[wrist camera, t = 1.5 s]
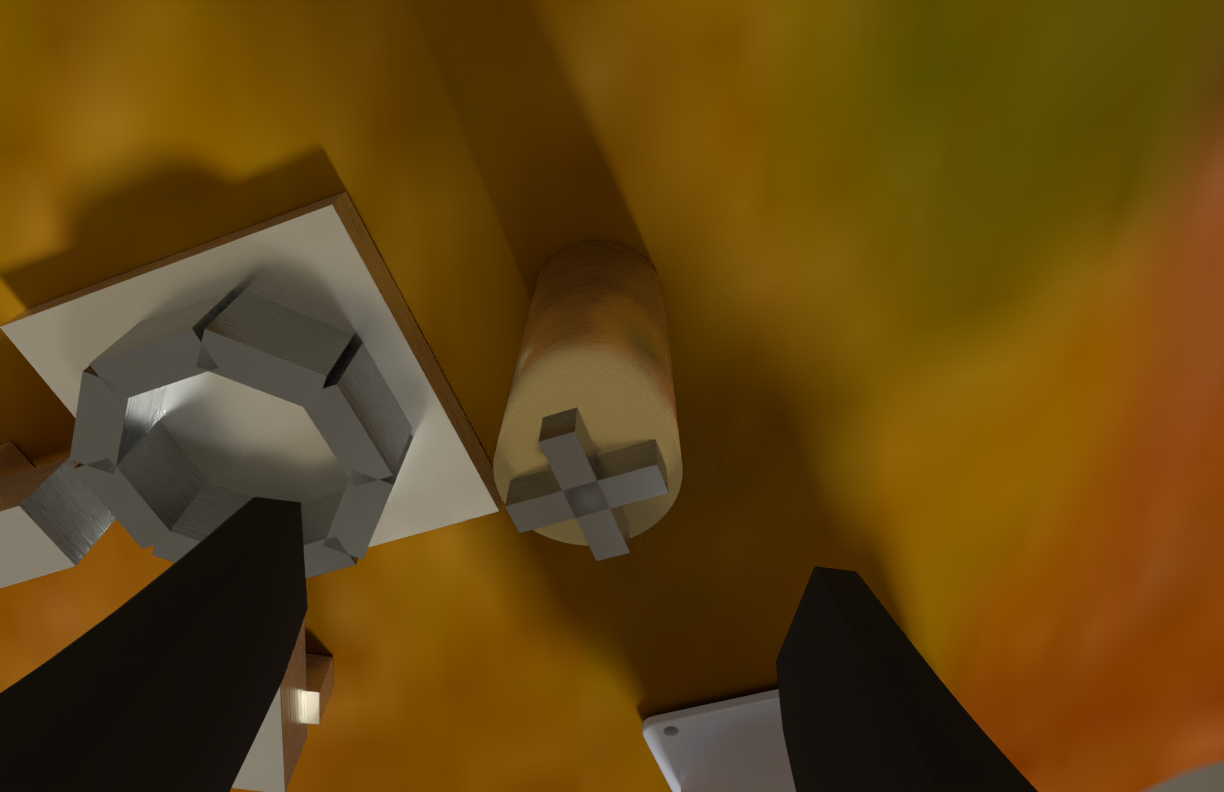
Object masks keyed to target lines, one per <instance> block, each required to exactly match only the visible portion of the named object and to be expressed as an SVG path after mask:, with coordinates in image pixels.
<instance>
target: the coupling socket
mask: <svg viewBox="0 0 1224 792" xmlns="http://www.w3.org/2000/svg"><path fill="white" fill-rule="evenodd" d="M0 328H1V329H2V330H3V331H4V333H5V334H6V335H7V336H8V337H9V339H10V340H11V341H12V342H13V344H14V345H15V346H16V347H17V348H18V350H19V351H20V352H21V353H22V354H23V356H24V357H25V358H26V359H27V360H28V362H29V363H30V364H31V365H32V366H33V368H34V369H35V370H36V371H37V372H38V374H39V375H40V376H41V377H42V378H43V380H44V381H45V382H46V383H47V384H48V386H49V387H50V388H51V389H52V390H53V392H54V393H55V394H56V395H57V396H58V398H59V399H60V400H61V401H62V402H63V404H64V405H65V406H66V407H67V408H68V410H69V411H70V412H71V413H72V414H73V416H74V417H75V418H76V419H75V426H74V433H73V439H72V446H71V453H70V456H69V457H66V458H63V459H60V460H57V461H54V462H51V463H48V464H45V465H42V466H38V467H34V466H33V465H32V464H31V463H30V462H29V461H28V460H27V459H26V457H25V456H24V455H23V454H22V453H21V452H20V451H19V450H18V449H17V447H16V446H15V445H14V444H13V443H12V442H8V443H5V444H2V445H0V588H2V587H6V586H9V585H12V584H16V583H19V582H23V581H26V580H29V579H33V578H36V577H40V576H43V575H47V574H50V573H53V572H57V571H60V570H64V569H67V568H70V567H74V566H76V565H77V564H78V563H79V561H80V560H81V559H82V558H83V557H84V555H85V554H86V553H87V552H88V551H89V550H90V548H91V547H92V546H93V545H94V544H95V543H96V541H97V540H98V539H99V538H100V537H101V535H102V534H103V533H104V532H105V531H106V530H107V528H108V527H109V526H110V525H111V524H112V523H113V521H114V520H115V519H117V520H118V521H119V522H120V524H121V525H122V526H123V527H124V528H125V529H126V531H127V532H128V533H129V534H130V535H131V536H132V537H133V539H134V540H135V541H136V542H137V543H138V544H139V546H140V547H141V548H142V549H143V548H147V547H150V546H154V550H153V554H152V555H154V556H157V557H160V558H163V559H166V560H169V561H172V562H175V563H176V562H177V561H178V560H179V559H180V558H182V557H183V556H184V555H185V554H186V553H188V552H189V551H190V550H191V549H192V548H194V547H195V546H196V545H197V544H198V543H200V542H201V541H202V540H203V539H204V538H205V537H207V536H208V535H209V534H210V533H211V532H213V531H214V530H215V529H216V528H217V527H218V526H220V525H221V524H222V523H223V522H224V521H225V520H227V519H228V518H229V517H230V516H231V515H232V514H234V513H235V512H236V511H237V510H238V509H240V508H241V507H242V506H243V505H244V504H245V503H247V502H248V501H249V500H251V499H252V498H254V497H262V498H270V499H278V500H286V501H294V502H301V513H302V529H303V545H304V561H305V576H306V578H309V577H313V576H317V575H320V574H324V573H328V572H331V571H335V570H339V569H342V568H346V567H350V566H353V565H356V563H357V561H358V558H360V559H363V557H364V555H365V553H366V550H367V548H368V547H371V546H374V545H378V544H382V543H385V542H389V541H393V540H396V539H400V538H404V537H407V536H411V535H414V534H418V533H422V532H425V531H429V530H433V529H436V528H440V527H443V526H447V525H451V524H454V523H458V522H462V521H465V520H469V519H472V518H476V517H480V516H483V515H487V514H491V513H494V512H498V511H499V509H500V504H501V500H502V499H501V497H500V494H499V492H498V490H497V487H496V483H495V480H494V471H493V467H492V465H491V463H490V462H489V460H488V458H487V456H486V454H485V452H484V450H483V448H482V446H481V445H480V443H479V441H478V439H477V437H476V435H475V433H474V431H473V429H472V428H471V426H470V424H469V422H468V420H467V418H466V416H465V414H464V412H463V411H462V409H461V407H460V405H459V403H458V401H457V399H456V397H455V396H454V394H453V392H452V390H451V388H450V386H449V384H448V382H447V380H446V379H445V377H444V375H443V373H442V371H441V369H440V367H439V365H438V363H437V362H436V360H435V358H434V356H433V354H432V352H431V350H430V348H429V347H428V345H427V343H426V341H425V339H424V337H423V335H422V333H421V331H420V330H419V328H418V326H417V324H416V322H415V320H414V318H413V316H412V314H411V313H410V311H409V309H408V307H407V305H406V303H405V301H404V299H403V297H402V296H401V294H400V292H399V290H398V288H397V286H396V284H395V282H394V281H393V279H392V277H391V275H390V273H389V271H388V269H387V267H386V265H385V264H384V262H383V260H382V258H381V256H380V254H379V252H378V250H377V248H376V247H375V245H374V243H373V241H372V239H371V237H370V235H369V233H368V232H367V230H366V228H365V226H364V224H363V222H362V220H361V218H360V216H359V215H358V213H357V211H356V209H355V207H354V205H353V203H352V201H351V199H350V198H349V196H348V194H347V192H346V191H345V192H342V193H339V194H337V195H334V196H331V197H329V198H326V199H323V200H321V201H318V202H315V203H312V204H310V205H307V206H304V207H302V208H299V209H296V210H294V211H291V212H288V213H286V214H283V215H280V216H277V217H275V218H272V219H269V220H267V221H264V222H261V223H259V224H256V225H253V226H250V227H248V228H245V229H242V230H240V231H237V232H234V233H232V234H229V235H226V236H223V237H221V238H218V239H215V240H213V241H210V242H207V243H205V244H202V245H199V246H196V247H194V248H191V249H188V250H186V251H183V252H180V253H178V254H175V255H172V256H169V257H167V258H164V259H161V260H159V261H156V262H153V263H151V264H148V265H145V266H143V267H140V268H137V269H134V270H132V271H129V272H126V273H124V274H121V275H118V276H116V277H113V278H110V279H107V280H105V281H102V282H99V283H97V284H94V285H91V286H89V287H86V288H83V289H80V290H78V291H75V292H72V293H70V294H67V295H64V296H62V297H59V298H56V299H53V300H51V301H48V302H45V303H43V304H40V305H37V306H35V307H32V308H29V309H27V310H25V311H24V312H22V313H21V314H19V315H18V316H16V317H14V318H13V319H11V320H10V321H8V322H7V323H5V324H4V325H2V326H1V327H0ZM75 461H76V462H79V464H77V463H76V462H75ZM332 690H333V657H329V656H322V655H314V654H307V653H305V617H304V620H303V623H302V626H301V629H300V632H299V635H298V638H297V641H296V644H295V647H294V650H293V653H292V656H291V659H290V661H289V664H288V667H287V670H286V673H285V676H284V678H283V680H282V683H281V685H280V687H279V689H278V691H277V693H276V696H275V698H274V700H273V702H272V704H271V706H270V708H269V710H268V713H267V715H266V717H265V719H264V721H263V723H262V725H261V727H260V729H259V732H258V734H257V736H256V738H255V740H254V742H253V744H252V746H251V748H250V750H249V752H248V754H247V757H246V759H245V761H244V763H243V765H242V767H241V769H240V771H239V773H238V775H237V777H236V779H235V781H234V784H233V786H232V788H239V789H247V790H256V791H264V792H286V790H287V787H288V785H289V782H290V780H291V777H292V774H293V772H294V769H295V767H296V764H297V762H298V759H299V756H300V754H301V751H302V749H303V746H304V744H305V741H306V738H307V723H311V724H320V722H321V719H322V716H323V714H324V711H325V709H326V706H327V703H328V701H329V698H330V695H331V693H332Z"/></svg>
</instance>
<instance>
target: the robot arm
mask: <svg viewBox="0 0 1224 792" xmlns="http://www.w3.org/2000/svg"><path fill="white" fill-rule="evenodd" d="M306 611H307V592H306V576H305V561H304V545H303V529H302V513H301V502H294V501H286V500H278V499H270V498H262V497H254V498H252V499H251V500H249V501H248V502H247V503H245V504H244V505H243V506H242V507H241V508H240V509H238V510H237V511H236V512H235V513H234V514H232V515H231V516H230V517H229V518H228V519H227V520H225V521H224V522H223V523H222V524H221V525H220V526H218V527H217V528H216V529H215V530H214V531H213V532H211V533H210V534H209V535H208V536H207V537H205V538H204V539H203V540H202V541H201V542H200V543H198V544H197V545H196V546H195V547H194V548H192V549H191V550H190V551H189V552H188V553H186V554H185V555H184V556H183V557H182V558H180V559H179V560H178V561H177V562H176V563H175V564H173V565H172V566H171V567H170V568H168V569H167V570H166V571H165V572H163V573H162V574H161V575H160V576H158V577H157V578H156V579H155V580H153V581H152V582H151V583H150V584H148V585H147V586H146V587H145V588H143V589H142V590H141V591H140V592H138V593H137V594H136V595H135V596H133V597H132V598H131V599H130V600H128V601H127V602H126V603H125V604H123V605H122V606H121V607H120V608H118V609H117V610H116V611H114V612H113V613H112V614H111V615H109V616H108V617H107V618H105V619H104V620H103V621H101V622H100V623H98V624H97V625H96V626H94V627H93V628H92V629H90V630H89V631H88V632H86V633H85V634H83V635H82V636H81V637H79V638H78V639H77V640H75V641H74V642H73V643H71V644H70V645H68V646H67V647H66V648H64V649H63V650H62V651H60V652H59V653H58V654H56V655H55V656H54V657H52V658H51V659H49V660H48V661H47V662H45V663H44V664H42V665H41V666H39V667H38V668H37V669H35V670H34V671H32V672H31V673H29V674H28V675H26V676H25V677H23V678H22V679H21V680H19V681H18V682H16V683H15V684H13V685H12V686H10V687H9V688H7V689H6V690H4V691H3V692H1V693H0V792H230V790H231V788H232V786H233V784H234V781H235V779H236V777H237V775H238V773H239V771H240V769H241V767H242V765H243V763H244V761H245V759H246V757H247V754H248V752H249V750H250V748H251V746H252V744H253V742H254V740H255V738H256V736H257V734H258V732H259V729H260V727H261V725H262V723H263V721H264V719H265V717H266V715H267V713H268V710H269V708H270V706H271V704H272V702H273V700H274V698H275V696H276V693H277V691H278V689H279V687H280V685H281V683H282V680H283V678H284V676H285V673H286V670H287V667H288V664H289V661H290V659H291V656H292V653H293V650H294V647H295V644H296V641H297V638H298V635H299V632H300V629H301V626H302V623H303V620H304V617H305V614H306ZM776 667H777V678H778V689H776V690H771V691H767V692H762V693H757V694H753V695H748V696H743V697H739V698H734V699H730V700H725V701H720V702H716V703H711V704H706V705H702V706H697V707H692V708H688V709H683V710H678V711H674V712H669V713H665V714H660V715H655V716H651V717H649V718H647V719H646V720H645V721H644V722H643V724H642V733H643V737H644V739H645V741H646V742H647V744H648V746H649V748H650V750H651V752H652V754H653V756H654V758H655V760H656V762H657V764H658V765H659V767H660V769H661V771H662V773H663V775H664V777H665V779H666V781H667V783H668V785H669V786H670V788H671V790H672V792H1038V791H1037V790H1036V789H1035V788H1034V787H1033V786H1032V785H1031V784H1030V783H1029V782H1028V781H1027V779H1026V778H1025V777H1024V776H1023V775H1022V774H1021V773H1020V772H1019V771H1018V770H1017V769H1016V767H1015V766H1014V765H1013V764H1012V763H1011V762H1010V761H1009V760H1008V758H1007V757H1006V756H1005V755H1004V754H1003V753H1002V752H1001V751H1000V749H999V748H998V747H997V746H996V745H995V744H994V743H993V742H992V741H991V739H990V738H989V737H988V736H987V735H986V734H985V733H984V732H983V730H982V729H981V728H980V727H979V726H978V725H977V723H976V722H975V721H974V720H973V719H972V717H971V716H970V715H969V714H968V713H967V712H966V710H965V709H964V708H963V707H962V706H961V704H960V703H959V702H958V701H957V700H956V698H955V697H954V696H953V695H952V694H951V692H950V691H949V690H948V689H947V687H946V686H945V685H944V684H943V682H942V681H941V680H940V679H939V677H938V676H937V675H936V674H935V673H934V671H933V670H932V669H931V667H930V666H929V665H928V664H927V662H926V661H925V660H924V659H923V657H922V656H921V655H920V654H919V652H918V651H917V650H916V648H915V647H914V646H913V645H912V643H911V642H910V641H909V639H908V638H907V637H906V635H905V634H904V633H903V632H902V630H901V629H900V628H899V626H898V625H897V624H896V623H895V621H894V620H893V619H892V617H891V616H890V615H889V613H888V612H887V611H886V609H885V608H884V607H883V606H882V604H881V603H880V602H879V600H878V599H877V598H876V596H875V595H874V594H873V592H872V591H871V590H870V589H869V587H868V586H867V585H866V583H865V582H864V581H863V580H862V578H861V577H860V576H859V575H858V573H857V572H855V571H847V570H839V569H831V568H823V567H814V569H813V572H812V574H811V577H810V579H809V582H808V584H807V587H806V589H805V592H804V594H803V596H802V599H801V601H800V604H799V606H798V609H797V611H796V614H795V616H794V619H793V621H792V623H791V626H790V628H789V631H788V633H787V636H786V638H785V641H784V643H783V646H782V648H781V650H780V653H779V655H778V658H777V660H776Z"/></svg>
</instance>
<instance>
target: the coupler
mask: <svg viewBox="0 0 1224 792" xmlns="http://www.w3.org/2000/svg"><path fill="white" fill-rule="evenodd" d="M493 471H494V480H495V483H496V487H497V490H498V492H499V494H500V497H501V499H502V500H503V502H504V503H505V508H506V509H507V511H508V513H509V515H510V517H511V519H512V521H513V522H514V524H515V526H516V528H517V530H518V532H519V533H522V532H526V531H529V530H534V531H535V532H537V533H539V534H541V535H543V536H546V537H548V538H550V539H554V540H557V541H560V542H564V543H569V544H575V545H589V547H590V549H591V551H592V553H593V555H594V558H595V560H596V561H600V560H603V559H607V558H611V557H615V556H619V555H623V554H627V553H630V538H632V537H634V536H637V535H639V534H641V533H643V532H644V531H646V530H648V529H649V528H651V527H652V526H653V525H655V524H656V523H657V522H658V521H659V520H660V519H662V518H663V517H664V516H665V515H666V513H667V512H668V511H669V509H670V508H671V507H672V505H673V503H674V501H675V500H676V498H677V495H678V493H679V490H680V487H681V482H682V471H683V468H682V458H681V449H680V440H679V430H678V421H677V412H676V403H675V393H674V384H673V375H672V365H671V356H670V347H669V337H668V328H667V319H666V309H665V300H664V292H663V287H662V283H661V281H660V278H659V276H658V274H657V272H656V271H655V269H654V268H653V266H652V265H651V264H650V263H649V261H648V260H647V259H645V258H644V257H643V256H642V255H641V254H639V253H638V252H637V251H635V250H633V249H632V248H630V247H628V246H625V245H623V244H620V243H617V242H613V241H606V240H590V241H583V242H580V243H576V244H574V245H571V246H569V247H567V248H565V249H563V250H561V251H560V252H559V253H557V254H556V255H555V256H553V257H552V258H551V259H550V260H549V261H548V262H547V264H546V265H545V267H544V268H543V269H542V271H541V273H540V275H539V277H538V280H537V282H536V286H535V290H534V294H533V298H532V302H531V306H530V311H529V315H528V319H527V323H526V327H525V331H524V335H523V339H522V344H521V348H520V352H519V356H518V360H517V364H516V368H515V372H514V376H513V381H512V385H511V389H510V393H509V397H508V401H507V405H506V409H505V414H504V418H503V422H502V426H501V430H500V434H499V438H498V442H497V447H496V451H495V456H494V464H493Z"/></svg>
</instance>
